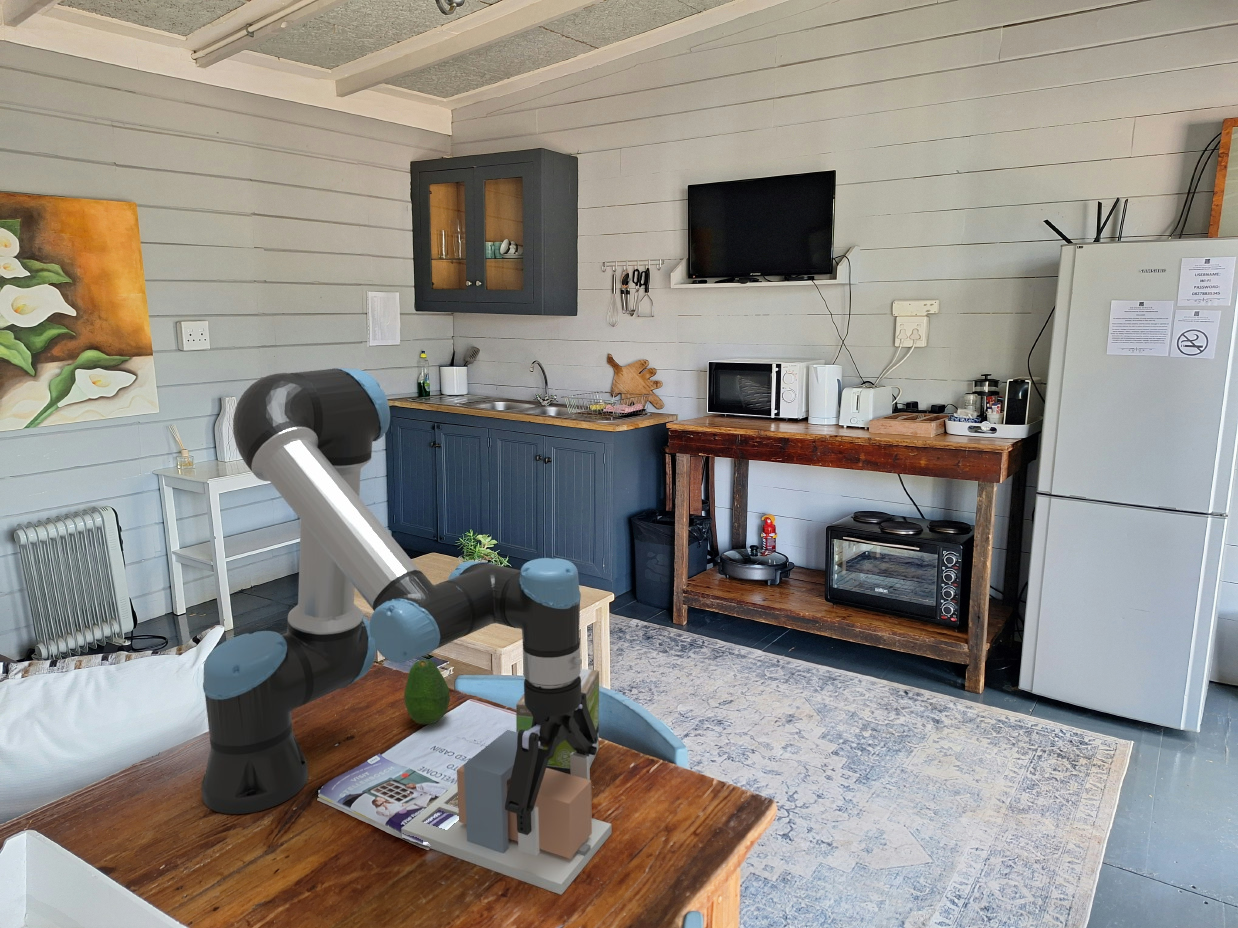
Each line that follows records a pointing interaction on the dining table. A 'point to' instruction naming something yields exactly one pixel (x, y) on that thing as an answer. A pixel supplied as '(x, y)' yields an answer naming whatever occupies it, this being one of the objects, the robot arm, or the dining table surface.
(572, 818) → the terracotta clay brick
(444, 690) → the avocado
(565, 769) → the tea box
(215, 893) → the dining table surface
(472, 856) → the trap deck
